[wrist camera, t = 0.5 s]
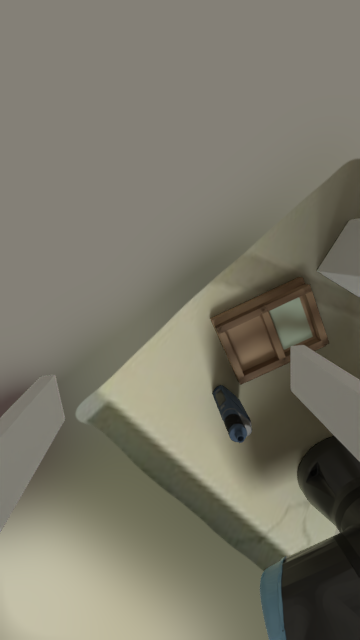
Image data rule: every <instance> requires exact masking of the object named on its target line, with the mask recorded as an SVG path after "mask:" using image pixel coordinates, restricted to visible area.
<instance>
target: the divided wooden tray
mask: <svg viewBox="0 0 360 640" xmlns="http://www.w3.org/2000/svg"><path fill="white" fill-rule="evenodd" d="M210 319H211V321H212V324H213V326H214V328H215V330H216V333H217V335H218V337H219V339H220V342H221V344H222V346H223V348H224V350H225V353H226V355H227V357H228V359H229V362H230V364H231V366H232V368H233V371H234V373H235V375H236V377H237V380H238V382H239V383H240V385H241V384H244V383H246V382H248V381H250V380H252V379H254V378H257V377H259V376H261V375H263V374H265V373H268V372H270V371H272V370H274V369H276V368H278V367H281V366H283V365H285V364H287V363H289V362H291V358H290V346H297V345H305V346H306V347H308V348H310V349H311V350H313V351H316V350H318V349H320V348H322V347H324V346H326V345H327V344H329V341H328V338H327V335H326V332H325V329H324V326H323V323H322V320H321V317H320V314H319V311H318V307H317V304H316V301H315V298H314V295H313V292H312V289H311V286H310V285H308V284H305V282H304V279H303V278H302V277H298V278H296V279H293V280H291V281H289V282H287V283H285V284H283V285H281V286H279V287H276V288H274V289H272V290H270V291H268V292H266V293H264V294H261V295H259V296H257V297H255V298H253V299H251V300H249V301H246V302H244V303H242V304H240V305H238V306H236V307H234V308H232V309H229V310H227V311H225V312H223V313H221V314H219V315H217V316H214V317H212V318H210Z"/></svg>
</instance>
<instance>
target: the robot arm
mask: <svg viewBox="0 0 360 640" xmlns="http://www.w3.org/2000/svg"><path fill="white" fill-rule="evenodd" d="M290 358H291V391H292V392H293V393H294V394H295V396H296V397H297V398H298V399H299V400H300V401H301V402H302V403H303V404H304V405H305V406H306V407H307V408H308V409H309V410H310V411H311V412H312V413H313V414H314V415H315V416H316V417H317V418H318V419H319V420H320V421H321V422H322V423H323V424H324V426H325V427H326V428H327V429H328V430H329V431H330V432H331V433H332V434H333V435H334V436H335V437H331V438H328V439H326V440H323V441H322V442H320V443H318V444H317V445H315V446H314V447H313V448H312V449H310V450H309V452H308V453H307V454H306V455H305V456H304V458H303V460H302V461H301V463H300V466H299V469H298V483H299V486H300V488H301V490H302V492H303V493H304V495H305V497H306V498H307V500H308V501H309V502H310V503H311V504H312V505H313V506H314V507H315V508H316V509H317V510H318V511H320V512H321V513H322V514H323V515H324V516H325V517H326V518H327V519H329V520H330V521H331V522H332V523H333V524H334V525H335V526H336V527H337V528H338V530H339V531H340V533H339V534H338V535H335V536H333V537H331V538H329V539H326V540H324V541H322V542H320V543H318V544H315V545H313V546H311V547H309V548H306V549H304V550H302V551H300V552H298V553H295V554H293V555H291V556H289V557H286V556H285V557H283V558H282V559H281V561H280V562H278V563H276V564H274V565H272V566H271V567H269V568H267V569H266V570H265V571H264V572H263V574H262V577H261V583H260V596H261V603H262V610H263V615H264V620H265V624H266V629H267V632H268V637H269V640H360V380H359V379H358V378H356V377H355V376H353V375H351V374H350V373H348V372H347V371H345V370H343V369H342V368H340V367H339V366H337V365H335V364H334V363H332V362H331V361H329V360H327V359H326V358H324V357H323V356H321V355H319V354H318V353H316V352H314V351H313V350H311V349H310V348H308V347H306V346H305V345H297V346H290ZM64 420H65V416H64V412H63V407H62V403H61V398H60V394H59V390H58V385H57V380H56V376H55V375H47V376H41V377H40V378H39V379H38V380H37V381H36V382H35V383H34V384H33V385H32V386H31V387H30V388H29V389H28V390H27V391H26V392H25V393H24V394H23V395H22V396H21V397H20V398H19V399H18V400H17V401H16V402H15V403H14V404H13V405H12V406H11V407H10V408H9V409H8V410H7V411H6V412H5V414H4V415H2V417H1V418H0V532H1V530H2V529H3V527H4V525H5V523H6V522H7V520H8V518H9V516H10V514H11V513H12V511H13V509H14V507H15V506H16V504H17V502H18V501H19V499H20V497H21V495H22V494H23V492H24V490H25V488H26V487H27V485H28V483H29V481H30V479H31V478H32V476H33V474H34V473H35V471H36V469H37V468H38V466H39V464H40V462H41V461H42V459H43V457H44V455H45V454H46V452H47V450H48V448H49V447H50V445H51V443H52V441H53V440H54V438H55V436H56V434H57V433H58V431H59V429H60V427H61V425H62V424H63V422H64Z"/></svg>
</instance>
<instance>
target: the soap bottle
mask: <svg viewBox="0 0 360 640" xmlns="http://www.w3.org/2000/svg"><path fill="white" fill-rule="evenodd" d="M317 271H318V272H319V273H321V274H322V275H324V276H326V277H327V278H329V279H330V280H332V281H334V282H335V283H337V284H338V285H340V286H342V287H343V288H345V289H346V290H348V291H350V292H351V293H353V294H355V295H356V296H358V297H360V218H358V219H351V220H349V221H348V223H347V224H346V226H345V228H344V229H343V231H342V232H341V234H340V235H339V237H338V238H337V240H336V242H335V243H334V245H333V246H332V248H331V249H330V251H329V253H328V254H327V256H326V257H325V259H324V260H323V262H322V263H321V265H320V267H319V268H318V270H317Z"/></svg>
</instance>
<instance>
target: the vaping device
mask: <svg viewBox="0 0 360 640" xmlns="http://www.w3.org/2000/svg"><path fill="white" fill-rule="evenodd" d="M212 394H213V396H214V399H215V401H216V404H217V407H218V409H219V412H220V414H221V417H222V420H223V421H224V423H225V426H226V427H227V428H226V429H227V431H228V432H229V433H228V434H229V436H230V438H231V440H233V441H235V442H239V443H241V442H243V441H244V440H245V438H246V437H247V436H249V435H250V434H251V432H252V428H251V420H250V418H249V416H248V415H247V413H246V411H245V409H244V407H243V405H242V404H241V402H240V400H239V399H238V398H237V397H236V396H235V395H234V394H233V393H231V392H230V391H229V390H228V389H227V388H225V387H224V386H223V385H220V386H218V387H217V388H215V390H214V391H213V393H212Z"/></svg>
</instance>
